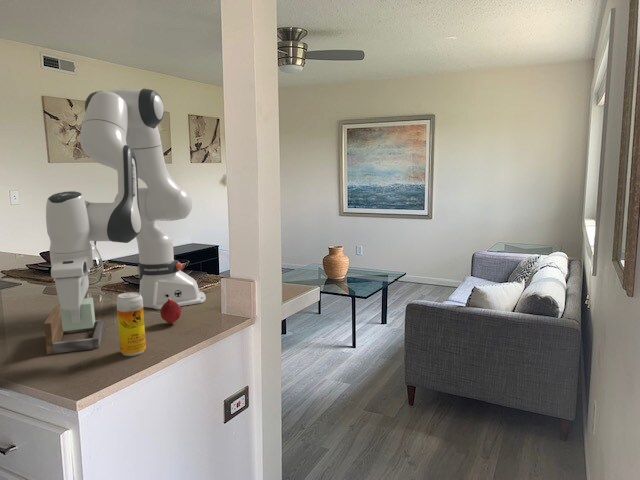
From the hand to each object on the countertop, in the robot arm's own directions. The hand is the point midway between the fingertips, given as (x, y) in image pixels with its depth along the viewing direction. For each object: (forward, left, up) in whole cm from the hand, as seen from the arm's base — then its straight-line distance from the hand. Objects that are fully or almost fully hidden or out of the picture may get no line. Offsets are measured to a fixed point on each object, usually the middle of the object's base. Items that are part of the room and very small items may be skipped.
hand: (78, 317), depth 117 cm
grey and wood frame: (+2, -14, -11) cm, 18 cm away
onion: (-22, -19, -11) cm, 31 cm away
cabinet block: (0, 0, -2) cm, 2 cm away
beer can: (-12, 0, -11) cm, 16 cm away
